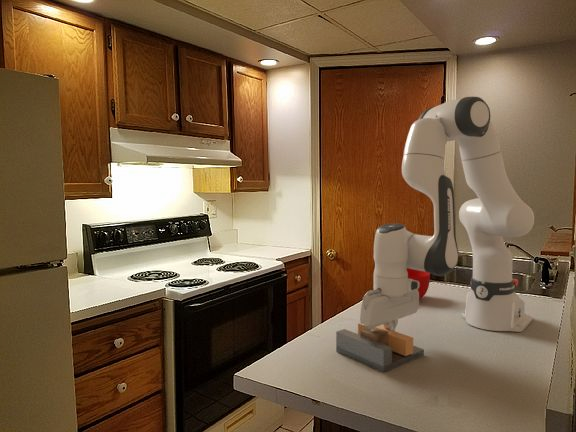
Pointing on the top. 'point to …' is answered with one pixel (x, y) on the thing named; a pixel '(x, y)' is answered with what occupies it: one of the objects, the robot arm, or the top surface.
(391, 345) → the block
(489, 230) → the robot arm
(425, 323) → the top surface
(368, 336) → the block
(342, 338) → the frame
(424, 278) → the ceramic cup
